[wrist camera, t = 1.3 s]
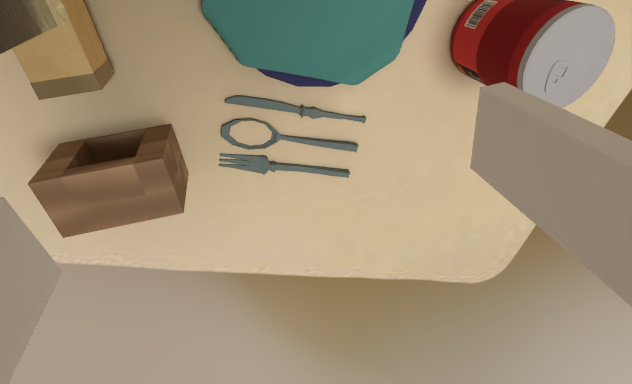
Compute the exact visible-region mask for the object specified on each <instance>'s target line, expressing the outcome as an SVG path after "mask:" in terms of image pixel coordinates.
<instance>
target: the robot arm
mask: <svg viewBox="0 0 632 384" xmlns="http://www.w3.org/2000/svg"><path fill="white" fill-rule="evenodd" d="M470 168H471V169H472V170H474V171H475V172H476V173H477V174H478V175H479V176H480V177H482V178H483V179H484V180H485V181H486V182H487V183H489V184H490V185H491V186H492V187H493V188H494V189H496V190H497V191H498V192H499V193H500V194H501V195H503V196H504V197H505V198H506V199H507V200H508V201H510V202H511V203H512V204H513V205H514V206H515V207H516V208H518V209H519V210H520V211H521V212H522V213H523V214H525V215H526V216H527V217H528V218H529V219H530V220H532V221H533V222H534V223H535V224H536V225H537V226H539V227H540V228H541V229H542V230H543V231H544V232H546V233H547V234H548V235H549V236H550V237H551V238H552V239H554V240H555V241H556V242H557V243H558V244H559V245H561V246H562V247H563V248H564V249H565V250H567V251H568V252H569V253H570V254H571V255H572V256H573V257H574V258H576V259H577V260H578V261H579V262H580V263H581V264H583V265H584V266H585V267H586V268H587V269H588V270H590V271H591V272H592V273H593V274H594V275H595V276H597V277H598V278H599V279H600V280H601V281H602V282H603V283H605V284H606V285H607V286H608V287H609V288H610V289H612V290H613V291H614V292H615V293H616V294H617V295H619V296H620V297H621V298H622V299H623V300H624V301H626V302H627V303H628V304H629V305H630V306H631V307H632V141H631V140H629V139H627V138H624V137H622V136H620V135H618V134H616V133H614V132H611V131H609V130H607V129H605V128H603V127H601V126H598V125H596V124H594V123H592V122H590V121H588V120H585V119H583V118H581V117H579V116H577V115H575V114H572V113H570V112H568V111H566V110H564V109H562V108H560V107H557V106H555V105H553V104H551V103H549V102H547V101H544V100H542V99H540V98H538V97H536V96H534V95H531V94H529V93H527V92H525V91H523V90H521V89H518V88H516V87H514V86H512V85H510V84H508V83H505V82H502V83H498V84H493V85H489V86H485V87H480V93H479V101H478V109H477V118H476V126H475V134H474V142H473V150H472V158H471V166H470ZM61 273H62V270H61V269H60V268H59V266H58V265H57V264H56V263H55V261H54V260H53V259H52V258H51V256H50V255H49V254H48V253H47V251H46V250H45V249H44V247H43V246H42V245H41V244H40V242H39V241H38V240H37V239H36V237H35V236H34V235H33V234H32V232H31V231H30V230H29V229H28V227H27V226H26V225H25V223H24V222H23V221H22V220H21V218H20V217H19V216H18V215H17V213H16V212H15V211H14V210H13V208H12V207H11V206H10V205H9V203H8V202H7V201H6V199H5V198H4V197H1V198H0V384H9V381H10V380H11V377H12V375H13V373H14V371H15V369H16V367H17V365H18V363H19V361H20V359H21V357H22V354H23V352H24V350H25V348H26V346H27V344H28V342H29V340H30V338H31V336H32V334H33V331H34V329H35V327H36V325H37V323H38V321H39V319H40V317H41V315H42V313H43V311H44V308H45V306H46V304H47V302H48V300H49V298H50V296H51V294H52V292H53V290H54V288H55V285H56V283H57V281H58V279H59V277H60V275H61Z"/></svg>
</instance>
